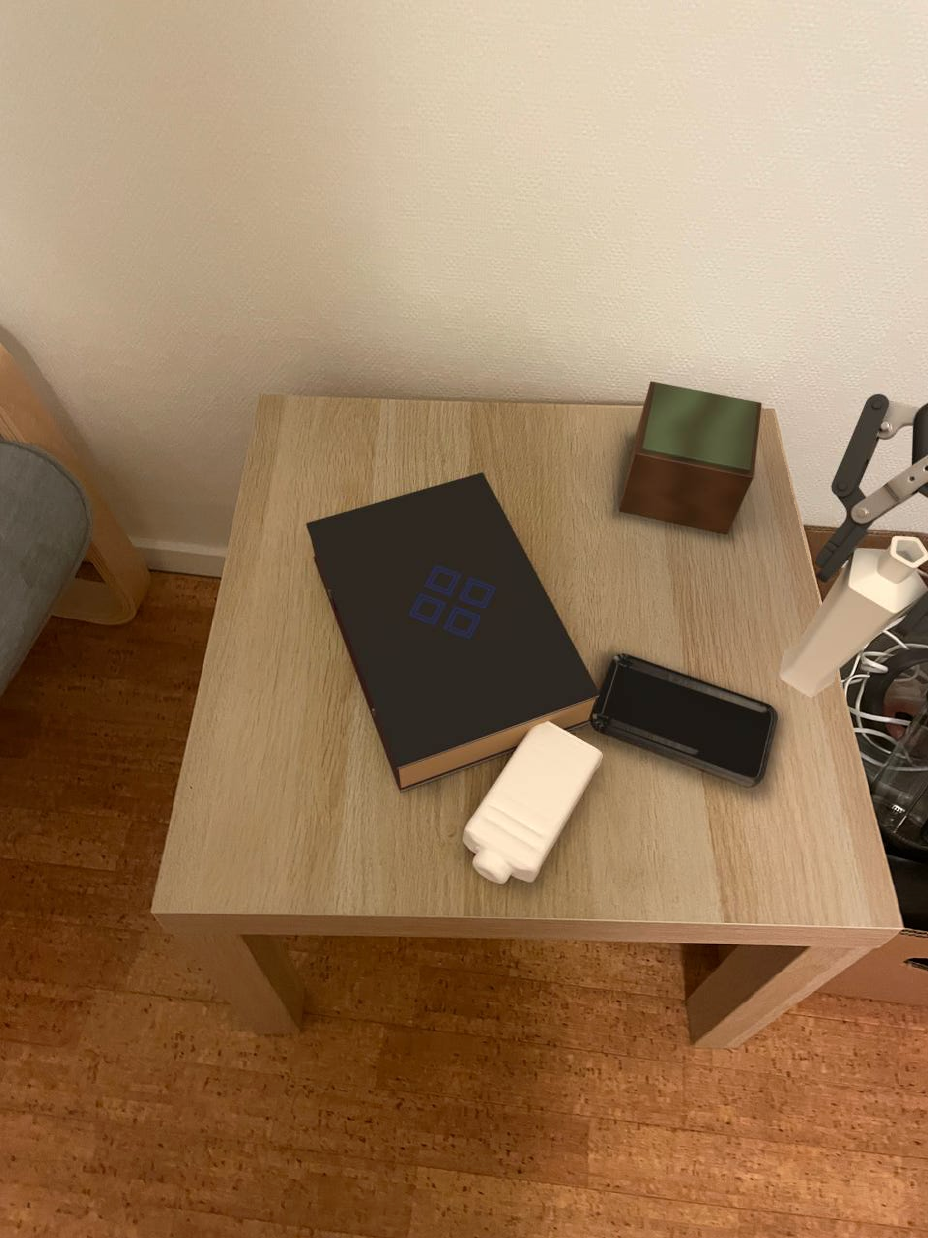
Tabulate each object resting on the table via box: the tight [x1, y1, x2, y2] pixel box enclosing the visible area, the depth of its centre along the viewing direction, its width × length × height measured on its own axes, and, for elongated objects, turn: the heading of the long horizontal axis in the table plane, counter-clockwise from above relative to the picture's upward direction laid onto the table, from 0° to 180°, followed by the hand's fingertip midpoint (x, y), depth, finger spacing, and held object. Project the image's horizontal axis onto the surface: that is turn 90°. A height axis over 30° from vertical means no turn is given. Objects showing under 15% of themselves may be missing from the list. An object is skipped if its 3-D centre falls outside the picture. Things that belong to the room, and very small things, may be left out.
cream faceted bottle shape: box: [779, 535, 928, 698], centre depth 53 cm, size 5×4×15 cm
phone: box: [590, 652, 779, 788], centre depth 73 cm, size 8×1×15 cm
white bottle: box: [462, 721, 604, 885], centre depth 67 cm, size 6×13×4 cm, turn 148°
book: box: [305, 471, 600, 794], centre depth 75 cm, size 17×25×7 cm
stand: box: [619, 380, 763, 535], centre depth 84 cm, size 11×10×9 cm
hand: (860, 604), depth 49 cm, fingers closed on cream faceted bottle shape, 4 cm apart
